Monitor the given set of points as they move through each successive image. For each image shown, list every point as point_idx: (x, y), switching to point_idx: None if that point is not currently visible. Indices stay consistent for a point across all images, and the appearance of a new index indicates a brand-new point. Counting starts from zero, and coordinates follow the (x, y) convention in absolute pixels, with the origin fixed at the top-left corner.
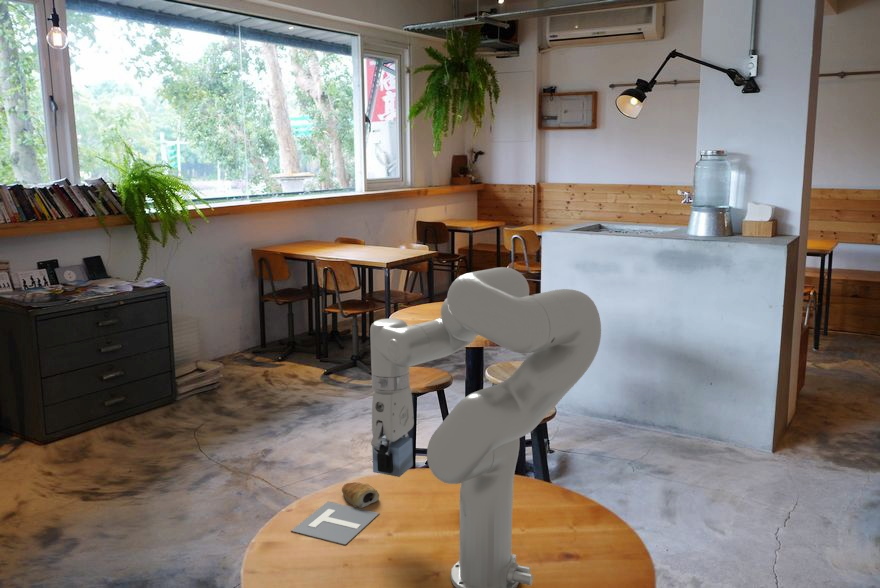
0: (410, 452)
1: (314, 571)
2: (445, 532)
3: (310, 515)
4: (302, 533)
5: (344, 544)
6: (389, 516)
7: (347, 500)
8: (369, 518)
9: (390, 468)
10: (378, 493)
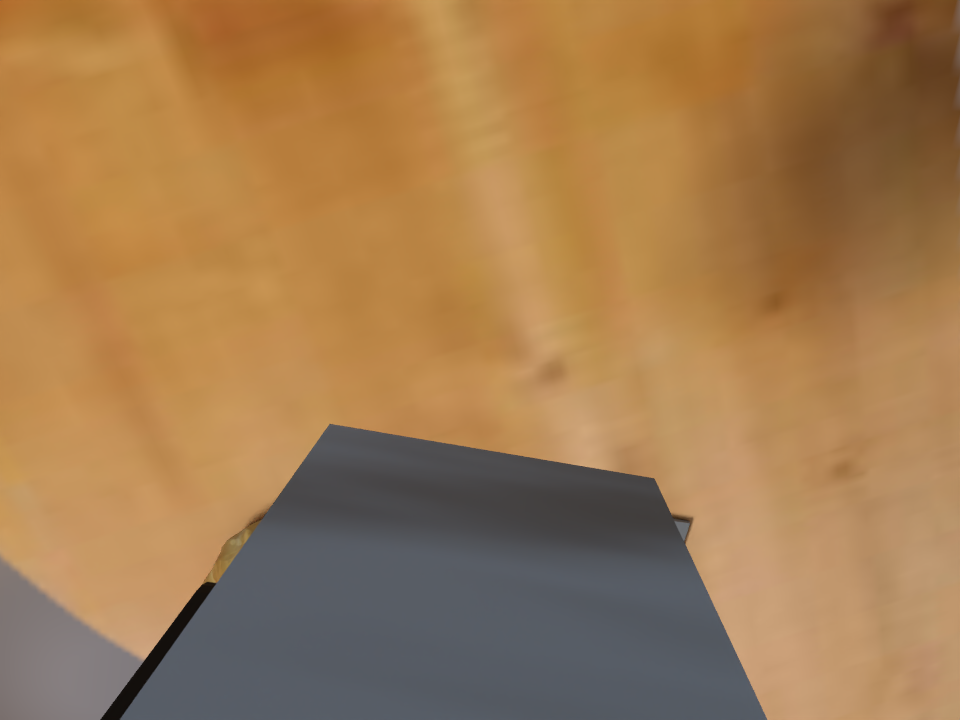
0: (326, 545)
1: (904, 564)
2: (463, 90)
3: None
4: None
5: (688, 526)
6: (391, 422)
7: None
8: None
9: None
10: (251, 533)
